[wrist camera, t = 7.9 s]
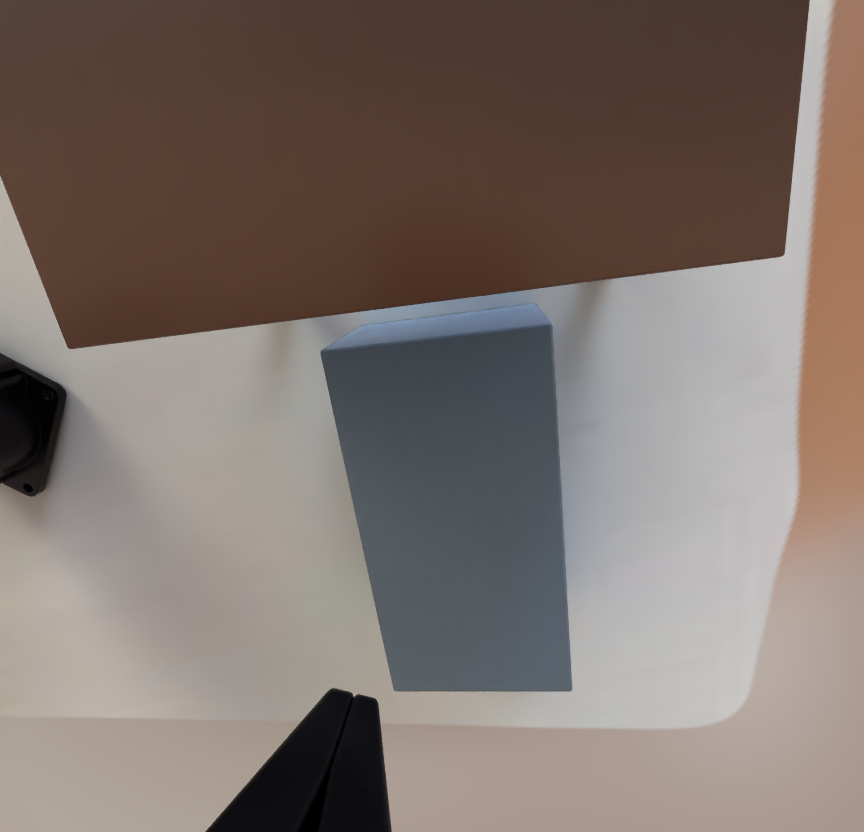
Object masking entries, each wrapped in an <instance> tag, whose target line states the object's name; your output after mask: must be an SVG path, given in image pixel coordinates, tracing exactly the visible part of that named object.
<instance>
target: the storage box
mask: <svg viewBox="0 0 864 832" xmlns="http://www.w3.org/2000/svg"><path fill="white" fill-rule="evenodd" d="M321 357H322V362H323V367H324V371H325V376H326V380H327V385H328V390H329V394H330V399H331V403H332V408H333V413H334V417H335V422H336V427H337V431H338V436H339V440H340V445H341V450H342V454H343V459H344V463H345V468H346V473H347V477H348V482H349V486H350V491H351V496H352V500H353V505H354V509H355V514H356V519H357V523H358V528H359V532H360V537H361V542H362V546H363V551H364V555H365V560H366V565H367V569H368V574H369V578H370V583H371V588H372V592H373V597H374V601H375V606H376V611H377V615H378V620H379V625H380V629H381V634H382V638H383V643H384V648H385V652H386V657H387V661H388V666H389V671H390V675H391V680H392V684H393V689H394V691H571V690H572V677H571V658H570V640H569V622H568V604H567V586H566V567H565V549H564V531H563V513H562V494H561V476H560V458H559V440H558V421H557V403H556V385H555V367H554V349H553V330H552V324H551V323H550V322H549V320H548V319H547V318H546V316H545V315H544V314H543V313H542V311H541V310H540V309H539V307H538V306H537V305H536V304H527V305H520V306H512V307H504V308H496V309H488V310H480V311H472V312H464V313H456V314H448V315H440V316H432V317H424V318H416V319H408V320H400V321H392V322H384V323H376V324H368V325H362V326H360V327H359V328H357V329H355V330H354V331H352V332H351V333H349V334H347V335H346V336H344V337H342V338H341V339H339V340H338V341H336V342H334V343H333V344H331V345H330V346H328V347H326V348H325V349H323V350H321Z"/></svg>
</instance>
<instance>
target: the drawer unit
mask: <svg viewBox="0 0 864 832" xmlns="http://www.w3.org/2000/svg"><path fill="white" fill-rule="evenodd" d="M809 1H810V0H0V176H1V178H2V181H3V183H4V186H5V189H6V191H7V194H8V196H9V199H10V201H11V204H12V206H13V209H14V212H15V214H16V217H17V219H18V222H19V224H20V227H21V229H22V232H23V235H24V237H25V240H26V242H27V245H28V247H29V250H30V252H31V255H32V257H33V260H34V263H35V265H36V268H37V270H38V273H39V275H40V278H41V280H42V283H43V286H44V288H45V291H46V293H47V296H48V298H49V301H50V303H51V306H52V309H53V311H54V314H55V316H56V319H57V321H58V324H59V326H60V329H61V332H62V334H63V337H64V339H65V342H66V344H67V347H68V348H69V349H76V348H84V347H91V346H99V345H107V344H114V343H122V342H130V341H137V340H145V339H153V338H160V337H168V336H176V335H184V334H191V333H199V332H207V331H214V330H222V329H230V328H237V327H245V326H253V325H260V324H268V323H276V322H284V321H291V320H299V319H307V318H314V317H322V316H330V315H337V314H345V313H353V312H360V311H368V310H376V309H384V308H391V307H399V306H407V305H414V304H422V303H430V302H437V301H445V300H453V299H460V298H468V297H476V296H484V295H491V294H499V293H507V292H514V291H522V290H530V289H537V288H545V287H553V286H560V285H568V284H576V283H584V282H591V281H599V280H607V279H614V278H622V277H630V276H637V275H645V274H653V273H660V272H668V271H676V270H684V269H691V268H699V267H707V266H714V265H722V264H730V263H737V262H745V261H753V260H760V259H768V258H776V257H781V256H783V255H784V253H785V244H786V233H787V223H788V213H789V203H790V193H791V183H792V173H793V163H794V153H795V142H796V132H797V122H798V112H799V102H800V92H801V82H802V72H803V62H804V51H805V41H806V31H807V21H808V11H809Z"/></svg>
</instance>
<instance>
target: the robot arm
mask: <svg viewBox="0 0 864 832" xmlns="http://www.w3.org/2000/svg"><path fill="white" fill-rule="evenodd" d="M51 392H52V393H53V395H54V396H53V395H52V394H51ZM65 400H66V392H65V390H64V389H63V387H62V386H61V385H59V384H58V383H56V382H54V381H52V380H50V379H48V378H46V377H44V376H42V375H41V374H39V373H37V372H35V371H33V370H31V369H29V368H27V367H25V366H23V365H21V364H19V363H18V362H16V361H14V360H12V359H10V358H8V357H6V356H4V355H3V354H1V353H0V484H1V483H3V484H5V485H7V486H9V487H11V488H13V489H15V490H17V491H19V492H21V493H23V494H25V495H27V496H35V495H37V494H39V493H41V492H42V491H44V489H45V485H46V481H47V477H48V472H49V468H50V464H51V460H52V455H53V451H54V447H55V443H56V438H57V434H58V430H59V426H60V422H61V417H62V413H63V409H64V405H65ZM390 822H391V821H390V812H389V803H388V793H387V783H386V773H385V765H384V755H383V745H382V735H381V726H380V716H379V706H378V702H377V700H376V699H375V698H372V697H368V696H364V695H360V694H357V695H355V696H354V698H353V694H352V693H351V692H348V691H344V690H340V689H336V688H332V689H330V690H329V691H328V692H327V693H326V694H325V695H324V696H323V697H322V698H321V700H320V701H319V702H318V703H317V704H316V705H315V706H314V708H313V709H312V710H311V711H310V712H309V713H308V714H307V716H306V717H305V718H304V719H303V720H302V721H301V722H300V724H299V725H298V726H297V727H296V729H294V731H293V732H292V733H291V734H290V735H289V736H288V738H287V739H286V740H285V741H284V742H283V743H282V744H281V746H280V747H279V748H278V749H277V750H276V751H275V752H274V754H273V755H272V756H271V757H270V758H269V759H268V760H267V762H266V763H265V764H264V765H263V766H262V767H261V769H260V770H259V771H258V772H257V773H256V774H255V776H254V777H253V778H252V779H251V780H250V781H249V782H248V783H247V785H246V786H245V787H244V788H243V789H242V790H241V792H240V793H239V794H238V795H237V796H236V797H235V798H234V799H233V801H232V802H231V803H230V804H229V805H228V806H227V808H226V809H225V810H224V811H223V812H222V813H221V814H220V816H219V817H218V818H217V819H216V820H215V821H214V822H213V824H212V825H211V826H210V827H209V828H208V829H207V831H206V832H392V831H391V823H390Z"/></svg>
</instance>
